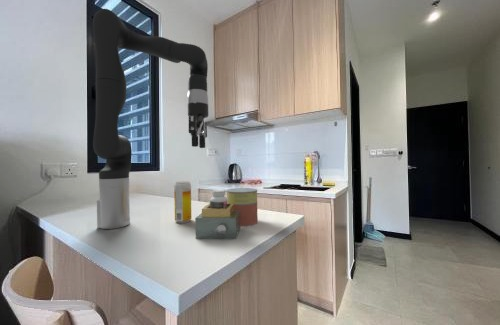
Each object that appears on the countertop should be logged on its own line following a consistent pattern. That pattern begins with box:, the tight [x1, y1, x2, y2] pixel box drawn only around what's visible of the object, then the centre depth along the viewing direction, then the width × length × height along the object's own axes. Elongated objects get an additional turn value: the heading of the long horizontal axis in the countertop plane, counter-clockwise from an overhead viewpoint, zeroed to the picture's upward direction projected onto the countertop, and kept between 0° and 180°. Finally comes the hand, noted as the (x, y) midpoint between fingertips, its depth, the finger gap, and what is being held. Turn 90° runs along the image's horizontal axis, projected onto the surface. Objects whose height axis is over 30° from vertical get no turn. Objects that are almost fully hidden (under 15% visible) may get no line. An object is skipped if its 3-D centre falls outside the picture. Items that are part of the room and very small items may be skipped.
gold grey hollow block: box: [194, 202, 241, 240], centre depth 66 cm, size 12×12×8 cm
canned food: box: [226, 187, 259, 228], centre depth 79 cm, size 11×11×12 cm
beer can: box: [173, 180, 192, 224], centre depth 82 cm, size 6×6×15 cm
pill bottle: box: [209, 189, 227, 208], centre depth 68 cm, size 5×5×10 cm
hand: (198, 147), depth 80 cm, fingers open, 8 cm apart
